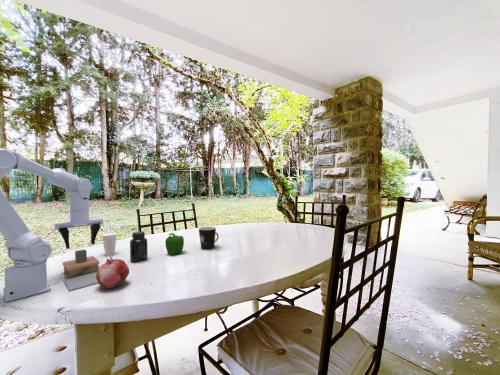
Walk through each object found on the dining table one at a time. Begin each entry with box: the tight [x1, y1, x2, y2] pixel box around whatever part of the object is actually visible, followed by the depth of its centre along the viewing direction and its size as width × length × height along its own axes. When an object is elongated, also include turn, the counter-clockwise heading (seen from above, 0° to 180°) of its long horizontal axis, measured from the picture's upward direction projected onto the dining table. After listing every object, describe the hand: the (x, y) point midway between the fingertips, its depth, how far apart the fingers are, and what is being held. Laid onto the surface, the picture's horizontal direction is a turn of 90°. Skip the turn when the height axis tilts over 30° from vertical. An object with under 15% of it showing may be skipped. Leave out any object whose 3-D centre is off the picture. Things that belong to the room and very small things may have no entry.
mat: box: [63, 272, 99, 292], centre depth 79 cm, size 12×11×1 cm
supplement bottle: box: [129, 231, 149, 264], centre depth 99 cm, size 7×7×12 cm
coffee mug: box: [198, 226, 220, 251], centre depth 115 cm, size 12×9×10 cm
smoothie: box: [101, 224, 118, 257], centre depth 108 cm, size 6×6×14 cm
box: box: [63, 264, 100, 279], centre depth 86 cm, size 9×9×3 cm
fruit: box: [96, 255, 130, 289], centre depth 74 cm, size 9×10×10 cm
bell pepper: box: [164, 232, 185, 256], centre depth 108 cm, size 8×8×10 cm
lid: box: [62, 249, 100, 271], centre depth 86 cm, size 10×10×5 cm
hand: (80, 245), depth 86 cm, fingers open, 7 cm apart
